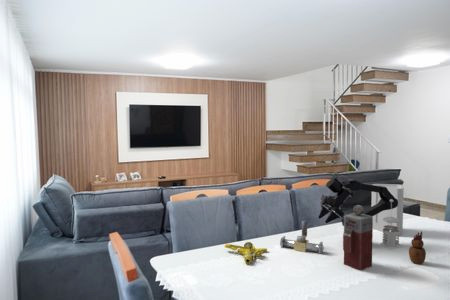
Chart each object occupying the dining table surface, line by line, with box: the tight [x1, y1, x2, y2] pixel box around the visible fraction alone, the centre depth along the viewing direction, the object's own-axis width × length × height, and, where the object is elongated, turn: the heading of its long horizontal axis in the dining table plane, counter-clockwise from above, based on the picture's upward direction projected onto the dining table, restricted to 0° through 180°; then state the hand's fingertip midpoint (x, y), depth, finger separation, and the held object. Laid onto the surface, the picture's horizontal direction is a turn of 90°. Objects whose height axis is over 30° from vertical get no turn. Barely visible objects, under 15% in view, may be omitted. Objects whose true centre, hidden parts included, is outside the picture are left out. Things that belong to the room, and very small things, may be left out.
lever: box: [296, 220, 308, 242], centre depth 177 cm, size 11×4×8 cm, turn 154°
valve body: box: [279, 235, 324, 255], centre depth 174 cm, size 22×6×5 cm, turn 61°
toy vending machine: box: [342, 204, 374, 271], centre depth 152 cm, size 9×11×28 cm
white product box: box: [370, 183, 404, 237], centre depth 205 cm, size 19×15×28 cm
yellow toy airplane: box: [224, 241, 268, 265], centre depth 165 cm, size 22×6×20 cm
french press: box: [380, 199, 401, 249], centre depth 180 cm, size 10×12×25 cm
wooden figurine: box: [408, 230, 427, 265], centre depth 155 cm, size 7×6×15 cm
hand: (322, 220), depth 182 cm, fingers open, 9 cm apart
